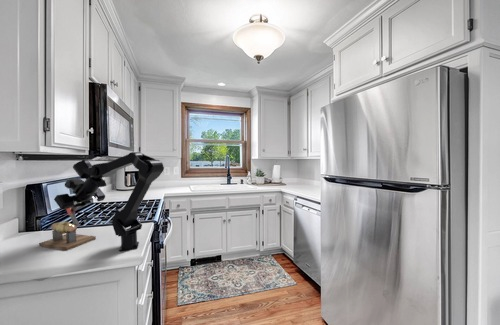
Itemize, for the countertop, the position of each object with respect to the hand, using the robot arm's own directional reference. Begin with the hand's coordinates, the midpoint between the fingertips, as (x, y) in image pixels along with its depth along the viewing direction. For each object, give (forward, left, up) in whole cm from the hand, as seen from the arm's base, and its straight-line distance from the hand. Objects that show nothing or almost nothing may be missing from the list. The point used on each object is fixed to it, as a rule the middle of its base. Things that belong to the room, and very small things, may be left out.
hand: (72, 210), depth 101 cm
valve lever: (-1, -2, -7) cm, 7 cm away
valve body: (-4, +1, -12) cm, 13 cm away
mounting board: (-4, +1, -13) cm, 14 cm away
